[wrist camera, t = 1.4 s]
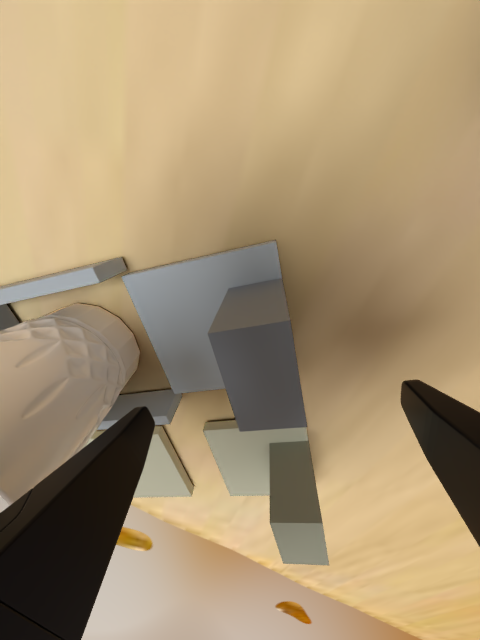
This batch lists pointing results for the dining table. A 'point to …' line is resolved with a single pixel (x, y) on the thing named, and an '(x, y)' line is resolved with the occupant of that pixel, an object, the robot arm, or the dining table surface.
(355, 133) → the dining table surface
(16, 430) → the white cup
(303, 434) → the broken strip
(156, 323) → the blue-grey angular bracket
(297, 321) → the dining table surface
